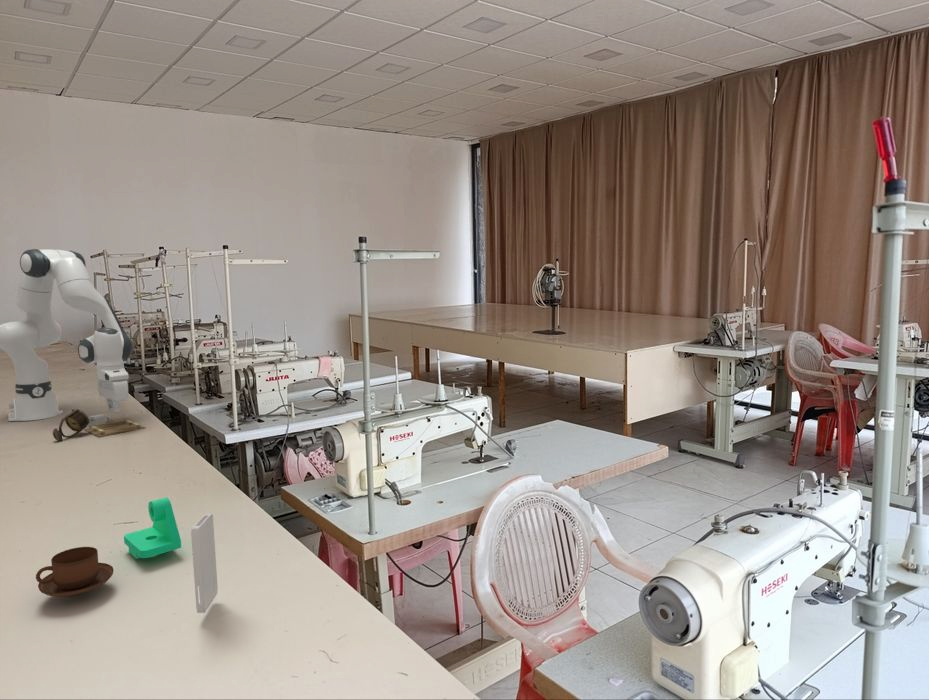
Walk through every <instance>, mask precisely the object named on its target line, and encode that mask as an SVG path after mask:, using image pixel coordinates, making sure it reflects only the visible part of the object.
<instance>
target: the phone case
mask: <svg viewBox="0 0 929 700" xmlns="http://www.w3.org/2000/svg"><path fill="white" fill-rule="evenodd" d="M190 532H191V533H190V536H191V550H192V551H191V552H192V566H193V567H192V568H193V578H194V581H193V582H194V590H195V591H194V594H195V608H196V612H197V613H198V614H205V613H206V611H207V610H208V609H209V607H210V606H211V604H212V603H213V601H214V599H215V598H216V596H217V595H218V588H219V586H218V573H217V572H218V571H217V560H216V545H215V544H216V542H215V541H216V540H215V526H214V514H213V513H204V514H203V515H202V516H201V517H200V519H198V521H196V523H195V524H194V525H193V526H192V528H191V531H190Z"/></svg>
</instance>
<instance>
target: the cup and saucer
mask: <svg viewBox="0 0 929 700" xmlns="http://www.w3.org/2000/svg"><path fill="white" fill-rule="evenodd" d="M50 562H51V563H50V564H51V565H49V566H43V567H41V568H40V569H39V570H38V571H36V572H37V573H36V574H35V580H36V581H37V583H38V584H37V587H38V590H39V592H40V593H42V594H43V595H46V596H50V597H56V598H59V597H60V598H62V597H63V598H65V597H71V596H78V595H81V594H84V593H88V592H90V591H93V590H95V589H97V588H99V587H101V586H103V585H104V584H105V583H106V582H108V581H109V580H110V578H112V576H113V574H114V567H113V566H112V565H111V564H110V563H109V564H108V563H104V562H99V553H98V549H97V548H95V547H93V546H79V547H73V548H70V549H66V550H65V549H64V550H63V551H60V552H59V553H58V552H57V553H56V554H55V555H53V556H52V557H51V561H50ZM46 571H50V572H51V571H52V572H51V573H50V574H47V575H46V576H44V577H43V578H41V574H42V573H43V572H46Z"/></svg>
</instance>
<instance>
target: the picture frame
mask: <svg viewBox="0 0 929 700" xmlns="http://www.w3.org/2000/svg"><path fill="white" fill-rule="evenodd" d="M143 429H146V427H145V426H143V425H141V424H139V423H137V422H134V421H131V420H129V419H124V420H123V419H122V420H118V421H117V420H115V421H110V422H107V423H103V424H97V425H89V428H85V429H83V431H85V432H87V433H88V434H90V435H93V436H94V437H96V438H98V439H100V438H104V437H109V436H110V437H111V436H114V435H119V434H120V435H121V434H123V433H129V432H135V431H138V430H143Z"/></svg>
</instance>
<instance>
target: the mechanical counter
mask: <svg viewBox="0 0 929 700" xmlns="http://www.w3.org/2000/svg"><path fill="white" fill-rule="evenodd" d="M64 422H65V423H66V425H67V427H68V428H69V429H70V430H71V431H73V432H74V433H73V434H71V435H65V434H64V433H63V429H62V428H63V427H62V426H63V423H64ZM89 422H90V420H89V416H88V415H87V413H85V412H84V411H83V410H80V409H78V408H75V409H74V408H73V409H71V412H70V413H68V414H66V415H65V416H64V417H63V418H62V419H61V420H60V423H59V425H58V428H56V427H55V428H54V429H52V437H53V438H54V439H55V441H58V442H62V441H63V438H67V439H68V438H69V439H70V438H73V437H76V435H78V434H79V433H81V432H82V431H84V429H87V426H88V425H90V424H89Z"/></svg>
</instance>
